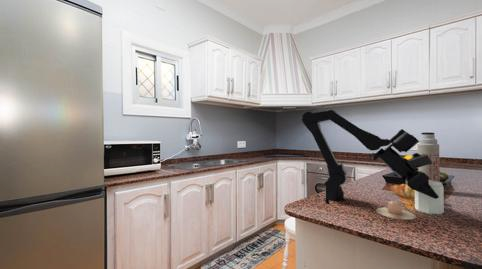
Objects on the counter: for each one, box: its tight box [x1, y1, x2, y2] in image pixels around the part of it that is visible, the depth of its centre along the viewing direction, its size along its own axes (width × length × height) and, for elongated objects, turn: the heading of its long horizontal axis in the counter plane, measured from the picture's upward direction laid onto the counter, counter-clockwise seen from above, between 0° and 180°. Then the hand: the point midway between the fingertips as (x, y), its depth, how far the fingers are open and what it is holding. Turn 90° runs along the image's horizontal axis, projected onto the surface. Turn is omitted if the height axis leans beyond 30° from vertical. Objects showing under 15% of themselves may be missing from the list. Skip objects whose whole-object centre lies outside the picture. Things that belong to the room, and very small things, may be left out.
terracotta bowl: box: [387, 200, 403, 215], centre depth 74 cm, size 4×4×4 cm
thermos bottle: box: [416, 131, 441, 182], centre depth 106 cm, size 8×8×28 cm
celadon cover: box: [414, 180, 445, 215], centre depth 77 cm, size 7×7×11 cm
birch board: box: [375, 206, 417, 220], centre depth 74 cm, size 11×11×1 cm
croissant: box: [389, 183, 415, 200], centre depth 95 cm, size 21×10×8 cm, turn 20°
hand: (433, 195), depth 76 cm, fingers closed on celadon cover, 7 cm apart
